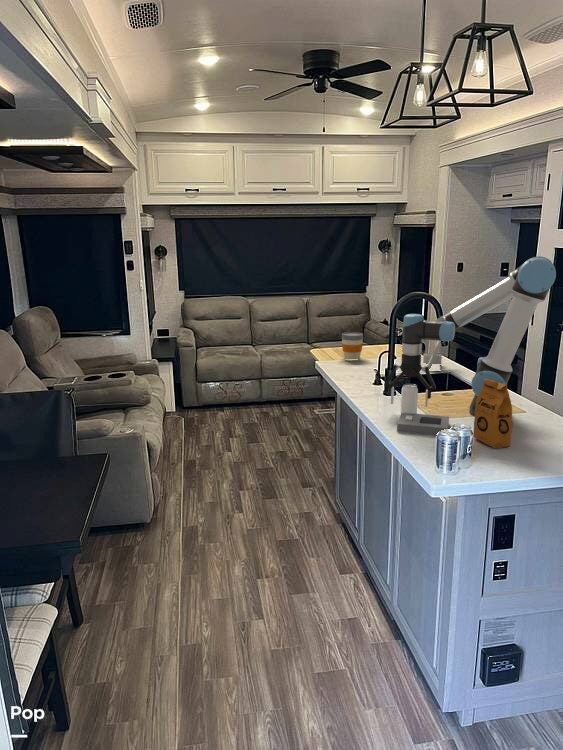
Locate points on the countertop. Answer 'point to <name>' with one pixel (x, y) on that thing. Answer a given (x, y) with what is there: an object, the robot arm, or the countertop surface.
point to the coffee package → (493, 415)
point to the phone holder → (433, 356)
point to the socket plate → (422, 423)
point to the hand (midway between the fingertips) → (409, 404)
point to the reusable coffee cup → (352, 345)
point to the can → (409, 398)
